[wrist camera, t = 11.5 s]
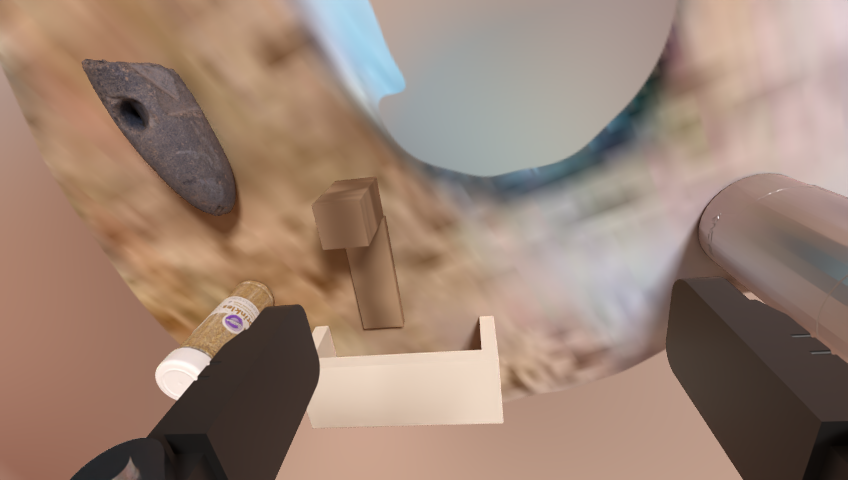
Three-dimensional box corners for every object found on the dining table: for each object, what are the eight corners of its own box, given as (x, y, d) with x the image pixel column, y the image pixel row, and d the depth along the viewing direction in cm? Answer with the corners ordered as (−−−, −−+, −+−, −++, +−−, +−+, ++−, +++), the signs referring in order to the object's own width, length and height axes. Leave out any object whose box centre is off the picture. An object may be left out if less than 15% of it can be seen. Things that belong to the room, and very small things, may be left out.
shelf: (493, 315, 44) (498, 359, 38) (497, 373, 47) (503, 423, 41) (315, 326, 47) (293, 369, 40) (331, 380, 50) (312, 428, 44)
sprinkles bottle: (281, 291, 45) (214, 378, 33) (267, 320, 47) (198, 413, 35) (242, 271, 45) (159, 353, 32) (229, 301, 46) (146, 390, 34)
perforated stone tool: (263, 195, 41) (226, 220, 34) (220, 212, 42) (177, 240, 36) (174, 39, 35) (112, 35, 29) (128, 63, 37) (58, 65, 30)
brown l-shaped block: (378, 176, 39) (362, 200, 33) (404, 320, 46) (395, 364, 39) (333, 181, 40) (309, 205, 33) (366, 323, 46) (350, 366, 40)
